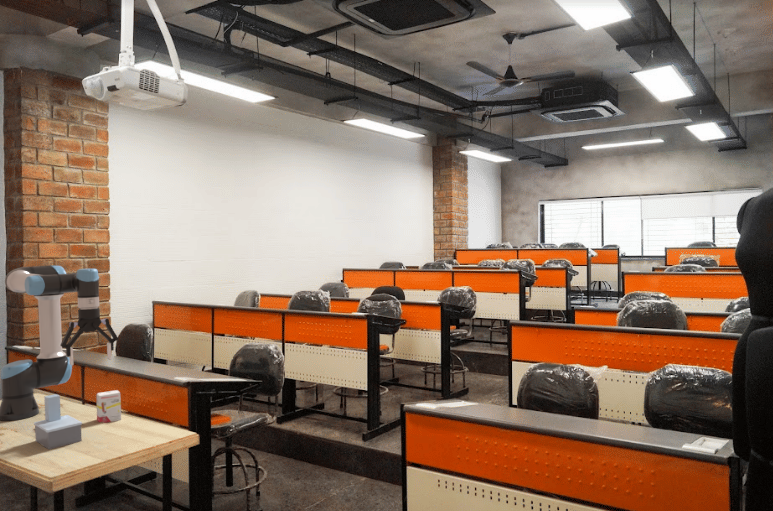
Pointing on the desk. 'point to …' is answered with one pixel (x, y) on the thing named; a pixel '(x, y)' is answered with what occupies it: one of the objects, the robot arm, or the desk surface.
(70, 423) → the lid
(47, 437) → the tub
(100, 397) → the ink box
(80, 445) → the desk surface
